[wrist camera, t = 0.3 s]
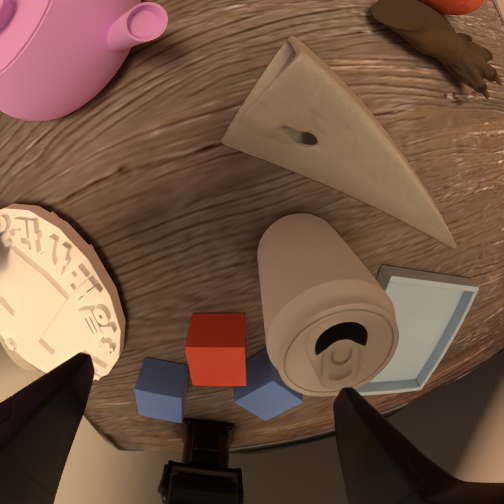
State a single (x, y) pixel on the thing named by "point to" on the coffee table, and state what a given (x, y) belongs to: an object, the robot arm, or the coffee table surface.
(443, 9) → the apple
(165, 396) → the blue block
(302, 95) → the beige doorstop wedge
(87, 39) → the teapot
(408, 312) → the tray
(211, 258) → the coffee table surface
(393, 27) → the figurine
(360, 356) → the beverage can
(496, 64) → the coffee table surface
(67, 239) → the giant coin
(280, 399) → the blue block
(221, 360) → the red block
